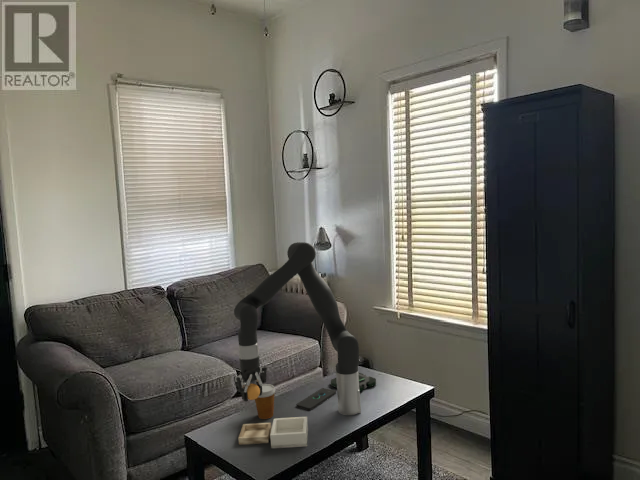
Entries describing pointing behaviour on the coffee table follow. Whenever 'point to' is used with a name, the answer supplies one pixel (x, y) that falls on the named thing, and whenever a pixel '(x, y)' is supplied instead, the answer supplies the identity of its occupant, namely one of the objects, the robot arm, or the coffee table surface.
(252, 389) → the ball
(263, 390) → the disposable coffee cup
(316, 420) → the coffee table surface
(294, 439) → the white square bin
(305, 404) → the smart home device
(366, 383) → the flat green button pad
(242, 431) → the tray
